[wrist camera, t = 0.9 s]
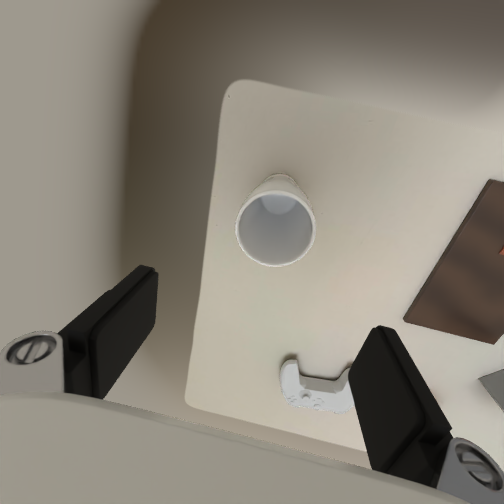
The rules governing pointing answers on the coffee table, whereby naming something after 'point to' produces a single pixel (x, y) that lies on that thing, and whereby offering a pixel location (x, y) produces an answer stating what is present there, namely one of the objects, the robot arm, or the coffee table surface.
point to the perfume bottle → (495, 386)
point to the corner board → (469, 276)
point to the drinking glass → (276, 222)
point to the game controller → (315, 390)
